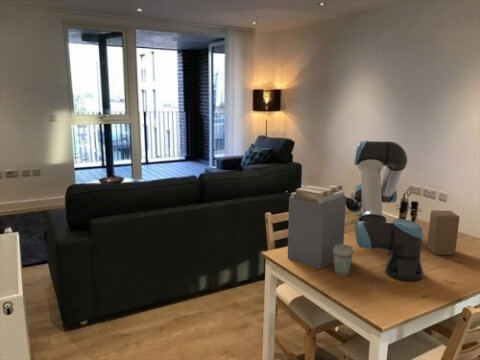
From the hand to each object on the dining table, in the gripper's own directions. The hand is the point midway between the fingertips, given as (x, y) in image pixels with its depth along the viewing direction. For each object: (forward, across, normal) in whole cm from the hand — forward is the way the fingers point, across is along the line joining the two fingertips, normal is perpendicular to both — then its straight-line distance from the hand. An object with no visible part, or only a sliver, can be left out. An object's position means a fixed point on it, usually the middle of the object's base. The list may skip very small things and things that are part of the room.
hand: (338, 192), depth 191 cm
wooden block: (-39, -42, -10) cm, 58 cm away
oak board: (+14, 0, -6) cm, 15 cm away
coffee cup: (+9, -18, -38) cm, 43 cm away
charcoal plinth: (+3, 0, -34) cm, 35 cm away
